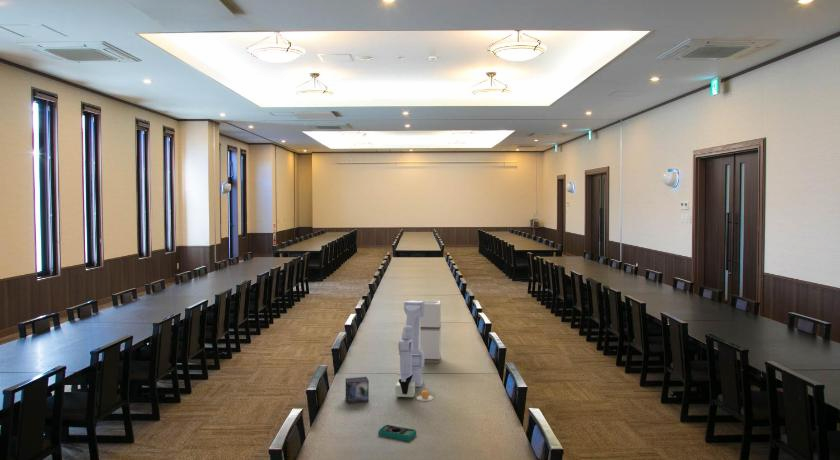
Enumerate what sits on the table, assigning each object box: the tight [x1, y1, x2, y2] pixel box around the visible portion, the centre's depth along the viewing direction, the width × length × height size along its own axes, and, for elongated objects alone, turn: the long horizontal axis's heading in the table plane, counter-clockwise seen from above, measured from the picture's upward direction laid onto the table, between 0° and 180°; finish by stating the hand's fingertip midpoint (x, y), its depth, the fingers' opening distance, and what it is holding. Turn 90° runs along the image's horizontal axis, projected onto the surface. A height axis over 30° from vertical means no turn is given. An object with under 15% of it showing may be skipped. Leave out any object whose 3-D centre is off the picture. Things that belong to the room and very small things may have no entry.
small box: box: [344, 376, 370, 404], centre depth 275 cm, size 11×6×10 cm, turn 105°
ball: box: [420, 389, 430, 399], centre depth 277 cm, size 4×4×4 cm
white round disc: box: [416, 394, 434, 402], centre depth 278 cm, size 8×8×1 cm
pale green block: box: [395, 381, 416, 398], centre depth 279 cm, size 6×8×6 cm
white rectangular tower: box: [419, 300, 442, 364], centre depth 343 cm, size 11×11×35 cm
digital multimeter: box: [377, 424, 417, 442], centre depth 235 cm, size 7×15×3 cm, turn 65°
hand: (406, 391), depth 279 cm, fingers closed on pale green block, 6 cm apart
